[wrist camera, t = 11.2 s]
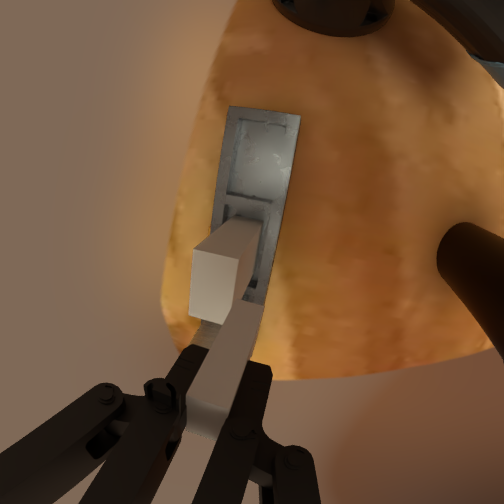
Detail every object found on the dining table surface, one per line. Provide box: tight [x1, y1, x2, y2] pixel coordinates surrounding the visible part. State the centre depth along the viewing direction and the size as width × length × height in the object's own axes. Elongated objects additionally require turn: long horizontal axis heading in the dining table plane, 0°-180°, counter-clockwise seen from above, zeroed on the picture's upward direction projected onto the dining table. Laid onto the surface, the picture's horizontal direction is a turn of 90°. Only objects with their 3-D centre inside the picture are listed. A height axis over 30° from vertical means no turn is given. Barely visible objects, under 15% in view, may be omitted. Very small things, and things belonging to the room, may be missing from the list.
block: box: [189, 215, 264, 325], centre depth 26 cm, size 6×4×12 cm, turn 170°
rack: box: [187, 106, 301, 357], centre depth 27 cm, size 30×8×13 cm, turn 171°
